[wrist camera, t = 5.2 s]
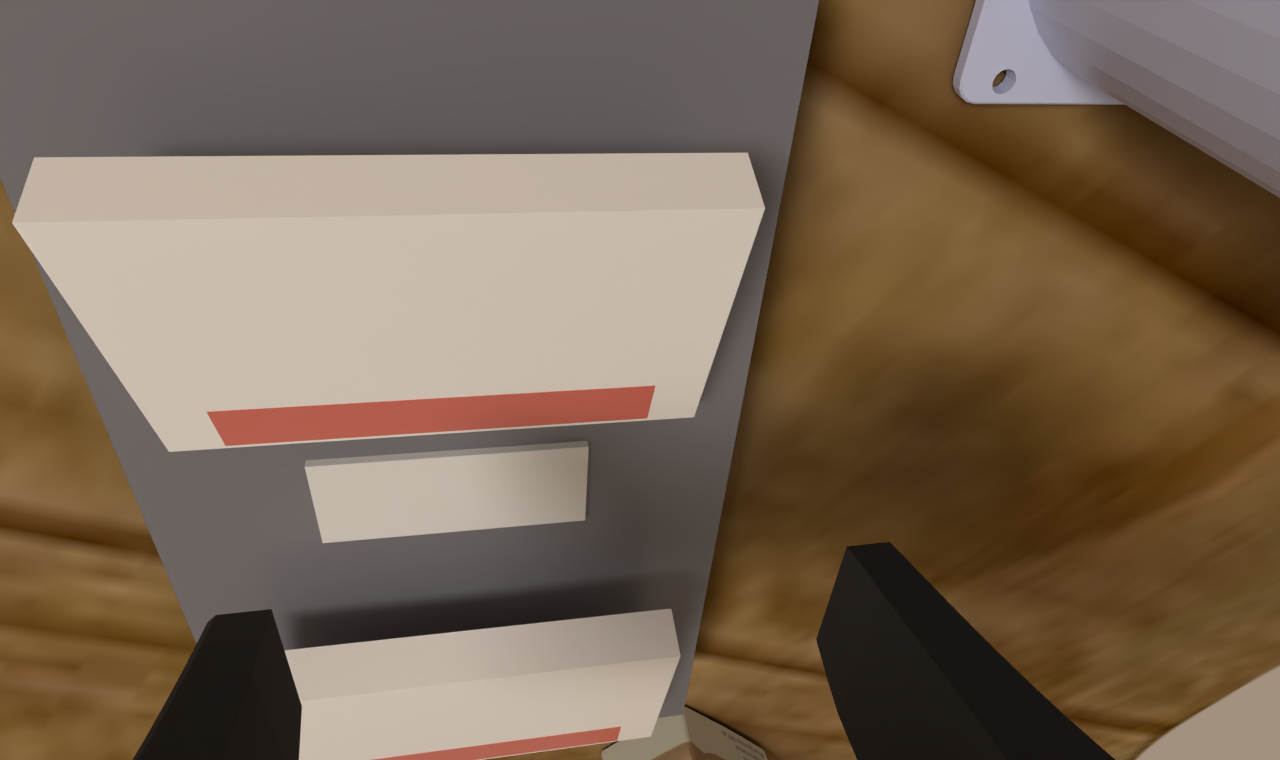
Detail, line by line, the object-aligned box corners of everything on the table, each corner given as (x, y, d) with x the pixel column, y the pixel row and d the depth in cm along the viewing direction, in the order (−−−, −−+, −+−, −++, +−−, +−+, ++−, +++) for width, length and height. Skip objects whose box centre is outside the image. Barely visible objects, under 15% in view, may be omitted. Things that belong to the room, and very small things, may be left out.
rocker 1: (747, 152, 13) (765, 208, 13) (683, 369, 18) (694, 417, 18) (34, 157, 11) (12, 222, 11) (178, 396, 16) (168, 452, 16)
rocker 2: (671, 608, 21) (680, 656, 20) (644, 695, 25) (650, 736, 25) (235, 655, 19) (227, 710, 18) (290, 740, 24) (285, 786, 23)
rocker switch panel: (768, -65, 16) (827, -21, 14) (663, 635, 30) (684, 720, 27) (-8, -98, 14) (-106, -53, 11) (266, 680, 27) (249, 778, 25)
